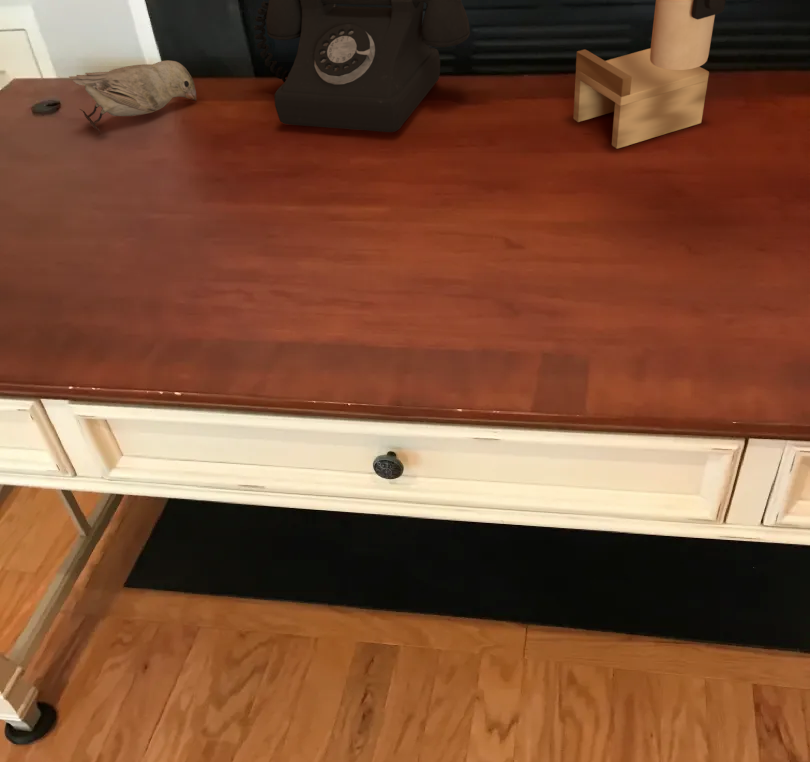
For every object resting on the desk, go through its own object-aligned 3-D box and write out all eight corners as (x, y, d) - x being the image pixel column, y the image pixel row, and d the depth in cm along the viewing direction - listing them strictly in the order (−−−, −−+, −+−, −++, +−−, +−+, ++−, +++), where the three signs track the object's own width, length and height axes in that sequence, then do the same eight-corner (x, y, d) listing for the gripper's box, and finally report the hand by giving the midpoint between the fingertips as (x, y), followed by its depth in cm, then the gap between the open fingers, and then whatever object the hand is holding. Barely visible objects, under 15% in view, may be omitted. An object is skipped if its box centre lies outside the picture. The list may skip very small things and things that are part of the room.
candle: (697, 74, 85) (715, -48, 77) (641, 67, 87) (653, -52, 80) (715, 52, 88) (734, -67, 80) (660, 45, 90) (674, -71, 83)
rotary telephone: (481, 85, 123) (478, -40, 112) (440, 143, 112) (432, 11, 101) (283, 74, 132) (262, -43, 121) (228, 126, 121) (199, 3, 110)
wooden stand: (654, 95, 116) (661, 27, 110) (701, 123, 110) (712, 53, 104) (573, 118, 114) (576, 51, 108) (616, 149, 107) (622, 79, 101)
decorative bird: (204, 106, 126) (190, 50, 121) (94, 140, 122) (74, 83, 117) (191, 94, 130) (177, 39, 124) (84, 127, 125) (64, 71, 120)
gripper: (836, -246, 66) (781, 22, 79) (691, -267, 77) (663, -27, 90) (753, -228, 64) (711, 43, 78) (616, -252, 75) (600, -10, 89)
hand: (686, 3), depth 84 cm, fingers closed on candle, 5 cm apart
